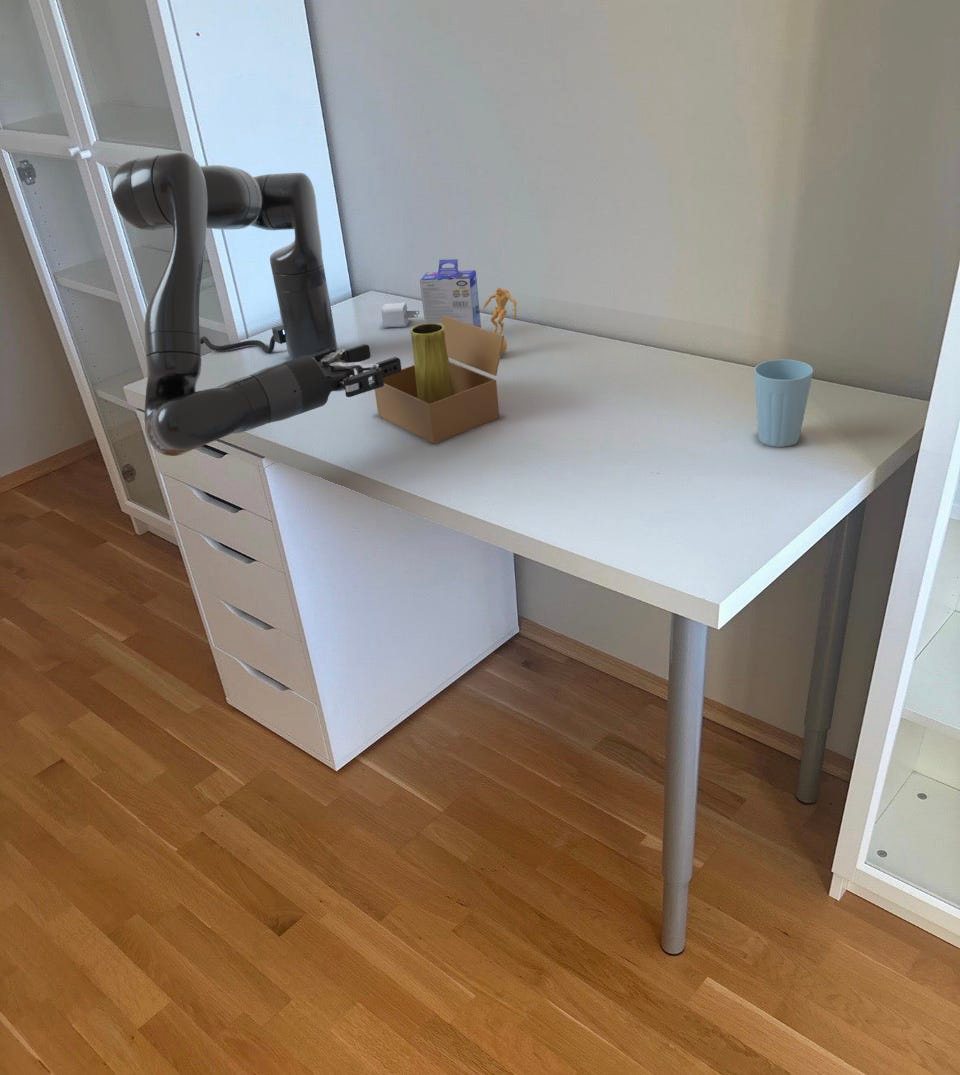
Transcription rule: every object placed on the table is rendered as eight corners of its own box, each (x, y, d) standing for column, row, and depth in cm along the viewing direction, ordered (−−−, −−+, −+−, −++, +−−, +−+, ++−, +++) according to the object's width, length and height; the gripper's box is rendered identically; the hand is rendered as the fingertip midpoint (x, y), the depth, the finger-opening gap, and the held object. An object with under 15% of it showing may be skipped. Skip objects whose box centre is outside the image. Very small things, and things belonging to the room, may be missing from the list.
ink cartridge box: (483, 332, 190) (476, 256, 183) (477, 342, 185) (469, 265, 178) (433, 333, 192) (424, 258, 185) (426, 343, 188) (416, 267, 180)
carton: (378, 415, 160) (372, 379, 157) (441, 392, 166) (437, 356, 163) (434, 443, 149) (429, 405, 145) (499, 417, 155) (496, 379, 152)
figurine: (472, 355, 180) (466, 290, 174) (495, 345, 183) (490, 281, 177) (505, 363, 175) (500, 297, 168) (528, 353, 178) (524, 287, 172)
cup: (748, 449, 138) (752, 378, 133) (752, 426, 144) (756, 358, 139) (805, 452, 136) (811, 381, 130) (807, 428, 142) (813, 359, 136)
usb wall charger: (387, 322, 201) (384, 302, 199) (421, 320, 200) (418, 301, 198) (383, 328, 197) (381, 309, 195) (418, 327, 196) (415, 307, 194)
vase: (428, 426, 154) (417, 338, 146) (412, 413, 158) (401, 327, 151) (463, 416, 156) (454, 328, 149) (446, 403, 161) (437, 318, 153)
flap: (442, 315, 160) (444, 315, 161) (436, 353, 162) (437, 353, 162) (502, 335, 149) (504, 335, 150) (495, 375, 151) (496, 375, 151)
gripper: (307, 376, 132) (407, 343, 140) (259, 352, 142) (355, 322, 150) (316, 428, 136) (413, 392, 144) (269, 401, 146) (362, 369, 154)
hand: (383, 357), depth 147 cm, fingers open, 8 cm apart
